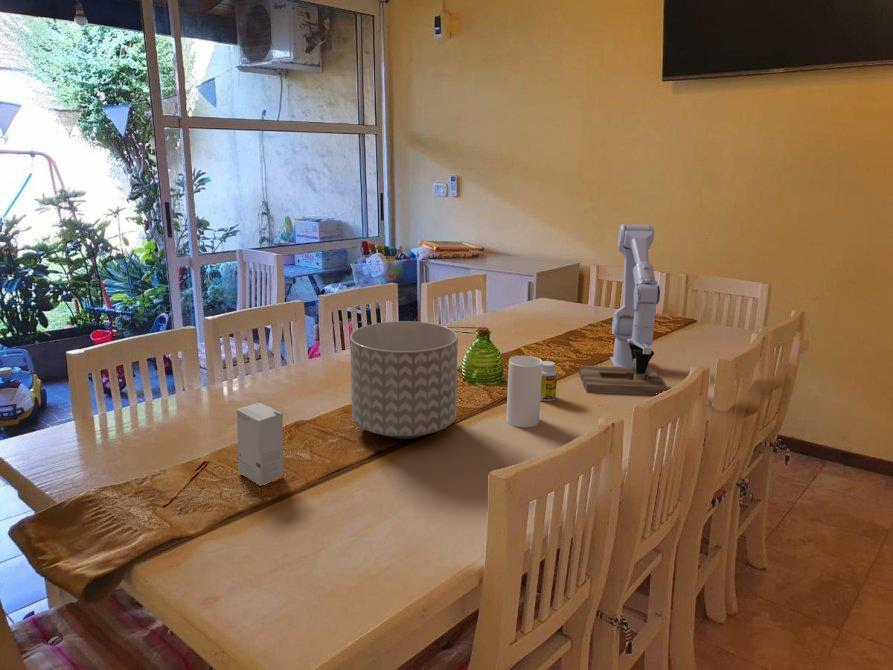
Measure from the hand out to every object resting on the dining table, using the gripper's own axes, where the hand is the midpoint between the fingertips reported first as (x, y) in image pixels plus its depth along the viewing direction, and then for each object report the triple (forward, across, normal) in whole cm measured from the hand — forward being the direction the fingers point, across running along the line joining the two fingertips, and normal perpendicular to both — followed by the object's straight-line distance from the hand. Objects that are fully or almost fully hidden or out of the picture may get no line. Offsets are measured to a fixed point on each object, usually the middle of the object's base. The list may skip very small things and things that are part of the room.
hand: (638, 370), depth 192 cm
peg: (+4, 0, 0) cm, 4 cm away
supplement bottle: (+4, +14, -28) cm, 32 cm away
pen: (+5, +68, -105) cm, 125 cm away
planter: (+4, +38, -64) cm, 75 cm away
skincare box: (+4, +64, -90) cm, 111 cm away
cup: (+4, +30, -35) cm, 46 cm away
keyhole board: (+4, 0, -5) cm, 7 cm away
